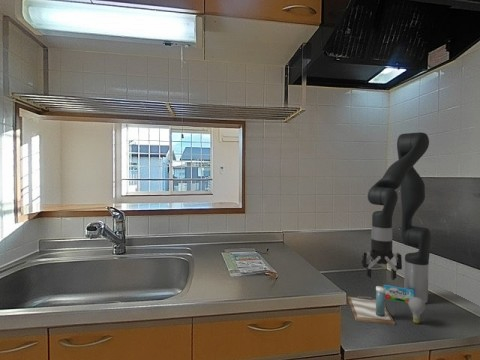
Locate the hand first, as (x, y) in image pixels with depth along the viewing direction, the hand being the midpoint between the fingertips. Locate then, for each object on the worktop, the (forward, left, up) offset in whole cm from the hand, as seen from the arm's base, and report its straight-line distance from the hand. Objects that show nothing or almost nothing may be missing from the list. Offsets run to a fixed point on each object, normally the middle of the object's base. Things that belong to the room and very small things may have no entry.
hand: (381, 278), depth 114 cm
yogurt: (-21, -2, -16) cm, 26 cm away
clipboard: (-2, -5, -16) cm, 17 cm away
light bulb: (-7, +11, -16) cm, 20 cm away
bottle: (0, 0, -15) cm, 15 cm away
